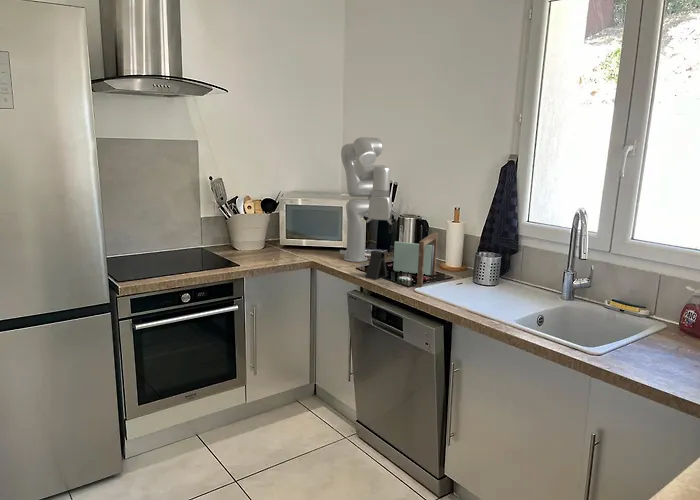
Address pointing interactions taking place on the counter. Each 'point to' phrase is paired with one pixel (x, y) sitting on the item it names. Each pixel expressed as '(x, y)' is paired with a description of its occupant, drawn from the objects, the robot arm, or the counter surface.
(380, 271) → the door stopper
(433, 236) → the door frame
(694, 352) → the counter surface
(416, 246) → the door
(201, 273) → the counter surface
